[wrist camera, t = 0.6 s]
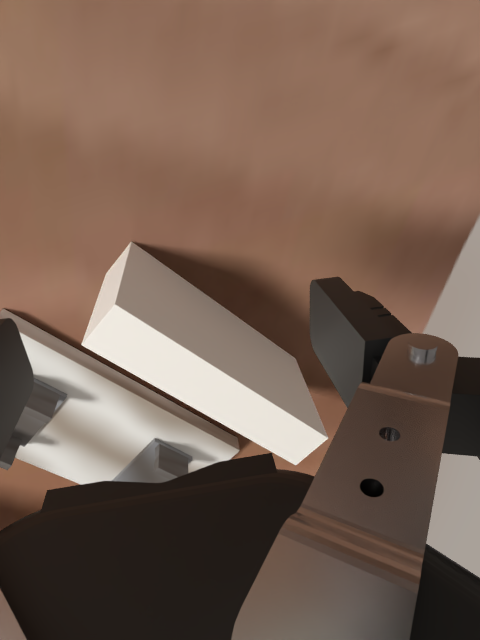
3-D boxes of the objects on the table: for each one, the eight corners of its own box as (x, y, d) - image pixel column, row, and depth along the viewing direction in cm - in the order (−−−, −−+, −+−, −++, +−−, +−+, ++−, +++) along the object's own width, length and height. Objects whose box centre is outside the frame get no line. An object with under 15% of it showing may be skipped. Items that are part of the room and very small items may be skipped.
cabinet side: (3, 308, 30) (-23, 343, 26) (237, 438, 39) (244, 477, 35) (-67, 406, 33) (-98, 450, 29) (164, 504, 42) (163, 547, 38)
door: (131, 240, 29) (114, 304, 21) (295, 357, 35) (328, 438, 28) (96, 285, 30) (68, 360, 22) (260, 390, 37) (283, 475, 29)
